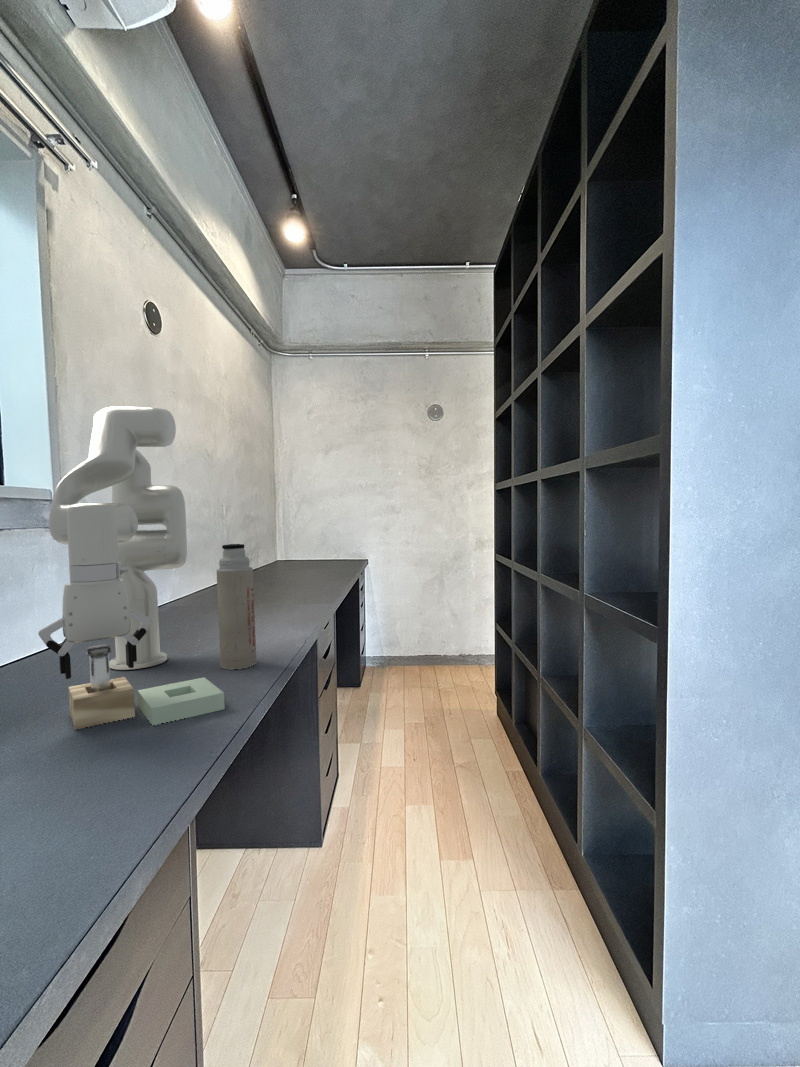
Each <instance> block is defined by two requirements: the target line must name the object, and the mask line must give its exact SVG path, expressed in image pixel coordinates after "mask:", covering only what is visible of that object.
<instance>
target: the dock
mask: <svg viewBox="0 0 800 1067" xmlns="http://www.w3.org/2000/svg"><path fill="white" fill-rule="evenodd" d="M137 707H138V708H139V709H140V711H141V712H142V714H143V715H144V717H145V718H146V719H147V721H148V720H149V721H148V722H149V723H150V725H151V724H152V725H151V726H152V727H153V725H155V726H158V725H157V724H159V725H162V724H161V723H164V724H167V723H166V722H168V723H171V722H170V721H172V722H176V721H180V719H181V720H185V719H189V718H193V717H198V716H202V715H206V714H210V713H214V712H218V711H222V710H223V711H224V710H225V709H226V706H225V692H223V690H221V688H218V686H217V685H215V684H213V683H212V682H211V681H210V680H208V679H207V678H206V677H203V676H202V677H199V678H195V679H189V680H184V681H183V680H182V681H178V682H173V683H167V684H163V685H158V686H153V687H147V688H143V689H138V690H137ZM184 718H185V719H184ZM175 720H176V721H175Z"/></svg>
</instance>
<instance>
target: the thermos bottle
mask: <svg viewBox="0 0 800 1067" xmlns="http://www.w3.org/2000/svg"><path fill="white" fill-rule="evenodd" d="M221 548H222V549H223V551H222V557H221V558H220V559H219V560H218V561H219V562H218V564H219V566H218V567H219V568H218V569H217V568H216V590H217V594H216V595H217V614H218V628H219V630H218V631H219V657H220V658H219V659H220V660H219V661H220V668H221V669H222V668H223V670H227V669H228V671H229V670H230V671H235V670H234V669H238V670H243V669H242V668H245V669H248V667H249V668H252V667H254V666H256V665H257V645H256V644H257V643H256V642H257V641H256V626H255V625H256V617H255V595H254V594H255V592H254V570H253V569H254V568H253V567H251V566H250V562H251V561H250V558H249V557H248V556H246V551H245V544H242V543H231V544H230V543H228V544H224V545H222V547H221ZM255 664H256V665H255ZM253 665H254V666H253ZM251 666H252V667H251Z"/></svg>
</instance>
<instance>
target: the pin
mask: <svg viewBox="0 0 800 1067" xmlns="http://www.w3.org/2000/svg"><path fill="white" fill-rule="evenodd" d="M85 649H86V650H85V652H86V653H85V654H86V656H88V658H89V677H90V683H91V693H94V692H99V691H105V690H110V689H111V687H110V679H111V673H110V672H111V671H110V670H111V668H110V667H109V661H110V653H112V645H111V644H95V645H92V646H88V647H87V648H85Z"/></svg>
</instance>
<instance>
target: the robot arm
mask: <svg viewBox="0 0 800 1067" xmlns="http://www.w3.org/2000/svg"><path fill="white" fill-rule="evenodd" d="M92 422H93V426H92V431H91V436H90V443H89V447H88V448H89V449H88V455H87V459H86V460H85V461H82V462H81V463H79V464H78V465H77V466H76V467H73V468H72V469H71V470H70V471H69V472H68V473H67V474H66V475H65V476H63V478H62V479H61V480H60V481H59V482H58V484H57V485H56V487H55V489H54V491H53V495H52V501H51V504H50V510H49V514H48V515H49V516H48V530H49V533H50V536H51V537H52V539H54V541H56V542H57V543H59V544H61V545H62V544H63V545H67V548H68V567H69V568H68V569H69V570H68V571H69V583H65V584H64V589H63V595H62V596H63V597H62V617H61V618H59V619H58V620H55V621H54V622H52V623H50V624H48V625H46V627H43V628H42V629H40V630H39V631H37V632H38V634H37V635H38V636H39V638H40V639H41V640H42V642H43V643H44V644H45V646H46V647H47V648H48V649H49V650H51V651H53V653H55V654H57V655H58V657H59V672H60V675H62V674H64V678H65V679H66V680H69V679H71V678H72V670H71V669H72V667H71V666H72V665H71V655H70V653H69V651H70V650H71V648H72V647H73V646H74V644H77V643H78V644H79V643H85V642H95V641H101V640H107V639H114V641H115V642H114V643H115V644H114V645H115V646H114V648H115V657H114V658H112V659H109V668H110V669H112V670H117V671H129V670H139V669H145V668H149V667H154V666H157V665H160V664H161V665H162V664H163V663H165V662H166V661H167V660H168V654H167V653H166V652H164V651H163V652H162V651H161V646H160V626H159V623H160V622H159V606H158V605H159V604H158V602H159V600H158V588H157V586H156V584H155V583H154V581H153V580H152V579H151V578H150V577H149V576H148V574H146V573H145V572H146V571H147V572H148V571H156V570H160V571H161V570H171V569H179V568H182V567H183V566H184V565H185V564H186V561H187V558H188V538H187V519H186V518H187V517H186V516H187V515H186V514H187V513H186V503H185V502H186V501H185V496H184V494H183V492H182V490H181V489H180V488H179V487H177V486H175V485H171V484H160V485H159V484H152V471H151V470H152V469H151V464H150V463H149V461H148V460H147V459H146V457H145V456H144V455H143V454H142V453H141V452H140V451H139V450H138V449H137V448H139V447H140V448H141V447H142V448H144V447H146V448H151V447H153V448H159V447H160V448H161V447H162V448H166V447H168V446H170V445H172V444H173V442H174V440H175V439H176V434H177V433H176V432H177V427H176V422H175V418H174V416H173V414H172V413H171V412H170V411H169V410H168V409H165V408H158V407H150V406H147V407H146V406H143V407H142V406H109V407H104V408H102V409H100V410H99V411H97V412H96V413H95V414H94V415H93V421H92ZM110 487H111V497H112V498H111V500H112V501H111V502H105V503H104V502H102V503H101V502H100V503H99V502H93V503H92V502H90V503H89V502H88V503H87V502H86V503H80V501H81V500H82V499H84V498H85V497H87V496H88V495H91V494H93V493H95V492H98V491H102V490H104V489H108V488H110ZM146 525H147V526H149V525H150V526H152V525H155V526H156V525H163V526H165V528H166V529H149V530H148V529H140V530H139V529H138V528H139V526H146ZM61 628H62V634H63V637H64V639H63V641H61V643H58V642H56V641H55V640H54V639H53V638H52V637H51V635H52V634H53V633H55V632H57V631H58V630H60V629H61Z"/></svg>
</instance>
